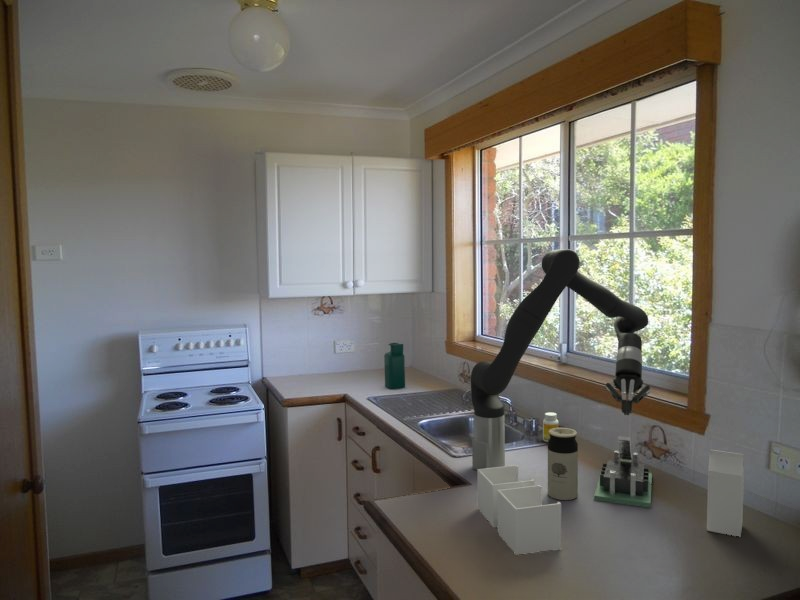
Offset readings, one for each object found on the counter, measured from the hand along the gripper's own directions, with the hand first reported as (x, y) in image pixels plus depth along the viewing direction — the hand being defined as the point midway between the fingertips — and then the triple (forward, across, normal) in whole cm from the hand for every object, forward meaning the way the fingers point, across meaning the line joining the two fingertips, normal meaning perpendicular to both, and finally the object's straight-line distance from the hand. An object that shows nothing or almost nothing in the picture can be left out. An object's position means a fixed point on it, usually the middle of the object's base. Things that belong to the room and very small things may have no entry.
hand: (626, 413), depth 178 cm
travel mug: (+27, -16, 0) cm, 31 cm away
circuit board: (+20, 0, +7) cm, 21 cm away
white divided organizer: (+44, -23, -16) cm, 52 cm away
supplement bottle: (-5, -26, +32) cm, 42 cm away
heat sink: (+19, 0, +6) cm, 20 cm away
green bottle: (-44, -110, +71) cm, 138 cm away
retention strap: (+11, 0, +1) cm, 11 cm away
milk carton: (+32, +24, -5) cm, 40 cm away
